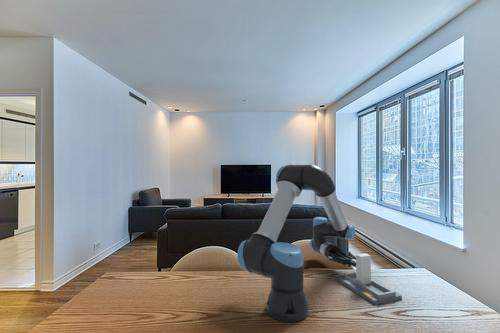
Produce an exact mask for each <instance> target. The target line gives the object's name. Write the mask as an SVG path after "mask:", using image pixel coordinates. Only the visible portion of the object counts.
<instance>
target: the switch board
mask: <svg viewBox="0 0 500 333" xmlns="http://www.w3.org/2000/svg"><path fill="white" fill-rule="evenodd" d="M338 282H339V283H340V284H342V285H343V286H345V287H347V289H349V290H350V291H353V292H354V293H356V294H357V295H358V296H360V297H362V298H363V299H365V300H366V301H368V302H370V303H371V304H372V305H375V306H376V305H380V304H386V303H390V302H394V301H401V300H403V296H402V294H400V293H399V292H396V291H395V290H393V289H391V288H389V287H387V286H385V285H383V283H382V284H381V283H380V282H378V281H376V280H374V279H372V278H371V284H366V285H364V284H362V283H361V282H359V281H357V280H356V272H351V273H345V274H343V277H338Z"/></svg>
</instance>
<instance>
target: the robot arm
mask: <svg viewBox="0 0 500 333" xmlns="http://www.w3.org/2000/svg"><path fill="white" fill-rule="evenodd" d="M275 177H276V178H275V183H276V188H277V191H276V193H275V195H274V197H273V200H272V202H271V203H270V205H269V208H268V210H267V212H266V213H265V215H264V218H263V219H262V222H261V224H260V226H259V228H258V229H257V231H255V232H253V233H252V234H251V235H250V237H249V239H246V240H244V241H243V240H242V241H241V242H240V244H239V246H238V248H237V263H238V265H239V267H240V268H241V269H242V270H244V271H246V272H248V273H251V274H255V275H258V276H261V277H265V278H268V279H270V283H271V285H270V292H269V293H268V299H267V301H266V313H267V314H268V316H269V317H270V318H272V319H274V320H277V321H280V322H285V323H296V322H299V321H303V320H305V319H306V318H308V316H309V313H310V312H309V308H310V306H309V302H308V301H307V297H306V294H305V291H304V265H305V262H304V254H303V251H302V249H301V248H300V247H299V246H298V245H295V244H293V243H290V242H281V241H277V240H278V238H279V236H280V233H281V231H282V229H283V227H284V225H285V224H284V223H285V222H286V219H287V218H288V215H289V213H290V211H291V208H292V206H293V204H294V201H295V199H296V198H297V197H300V195H301V193H302V192H303V191H312V192H314V194H315V195H316V196H317V197H318V198H319V200H320V202H321V204H322V206H323V208H324V211H325V212H326V216H327V217H328V219H329V221H328V219H327V217H323V216H315V217H313V221H312V234H313V235H312V238H311V239H310V242H309V247H310V248H311V250H312V251H314V252H315V253H317V254H320V255H322V256H323V257H325V258H326V259H328V261H332V262H335V263H338V264H341V265H343V266H348V268H349V267H350V268H351V267H353V268H356V255H354V253H352V252H351V251H348V252H345V251H343V250H341V248H340V247H339V246H338V245H335V244H333V243H330V242H328V237H330V238H337V239H341V240H349V241H352V240H354V239H355V237H356V227H355V226H354V225H352V224H348V221H347V220H346V216H345V213H344V211H343V209H342V206H341V204H340V200H339V198H338V196H337V194H336V185H335V182H334V180H333V179H332V177H331V176H330V175H329V174H328V172H326V171H325V170H324V169H323V168H321V167H320V166H318V165H315V164H286V165H282V166H281V167H279V169H278V170H277V171H276V175H275Z"/></svg>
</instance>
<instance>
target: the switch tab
mask: <svg viewBox="0 0 500 333" xmlns="http://www.w3.org/2000/svg"><path fill="white" fill-rule="evenodd" d="M355 256H356V267H355V269H356V270H355V273H356V280H357V281H359V282H361V283H362V284H364V285H366V284H371V279H372V263H371V260H372V259H371V254H368V253H357V254H355Z"/></svg>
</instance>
